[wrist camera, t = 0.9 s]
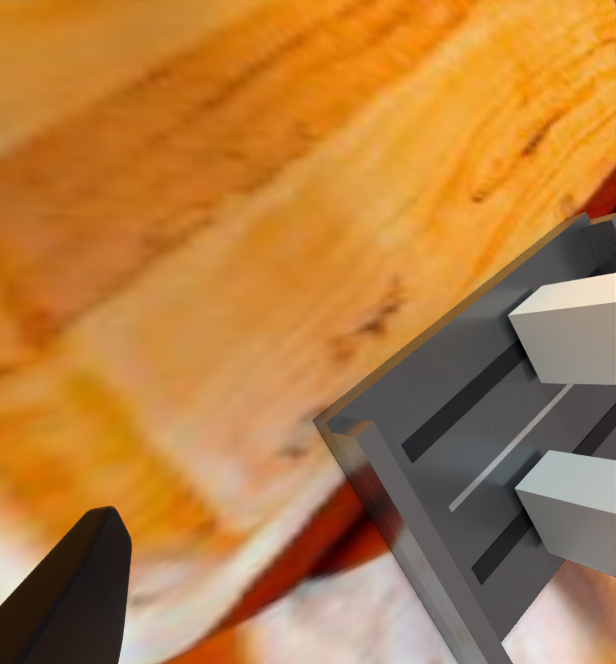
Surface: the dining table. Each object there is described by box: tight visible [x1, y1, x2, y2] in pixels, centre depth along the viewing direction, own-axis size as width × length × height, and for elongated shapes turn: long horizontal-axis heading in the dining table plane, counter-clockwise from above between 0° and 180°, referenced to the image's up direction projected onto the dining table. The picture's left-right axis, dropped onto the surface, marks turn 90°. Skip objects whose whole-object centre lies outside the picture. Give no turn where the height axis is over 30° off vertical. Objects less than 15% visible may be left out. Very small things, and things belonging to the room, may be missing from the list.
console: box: [313, 212, 616, 664], centre depth 26 cm, size 20×14×3 cm
